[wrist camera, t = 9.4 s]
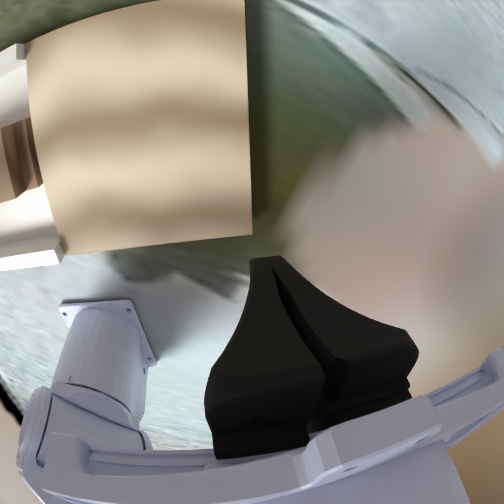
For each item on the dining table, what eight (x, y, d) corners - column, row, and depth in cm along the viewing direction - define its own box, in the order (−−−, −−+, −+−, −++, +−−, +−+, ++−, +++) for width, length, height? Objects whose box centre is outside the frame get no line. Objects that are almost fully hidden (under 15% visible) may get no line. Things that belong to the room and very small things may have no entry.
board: (248, 221, 22) (252, 234, 20) (74, 242, 20) (66, 255, 18) (240, 2, 13) (244, -7, 11) (40, 44, 11) (26, 43, 10)
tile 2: (47, 180, 17) (38, 187, 15) (3, 193, 16) (-7, 200, 15) (35, 115, 14) (24, 118, 13) (-10, 135, 13) (-21, 139, 12)
